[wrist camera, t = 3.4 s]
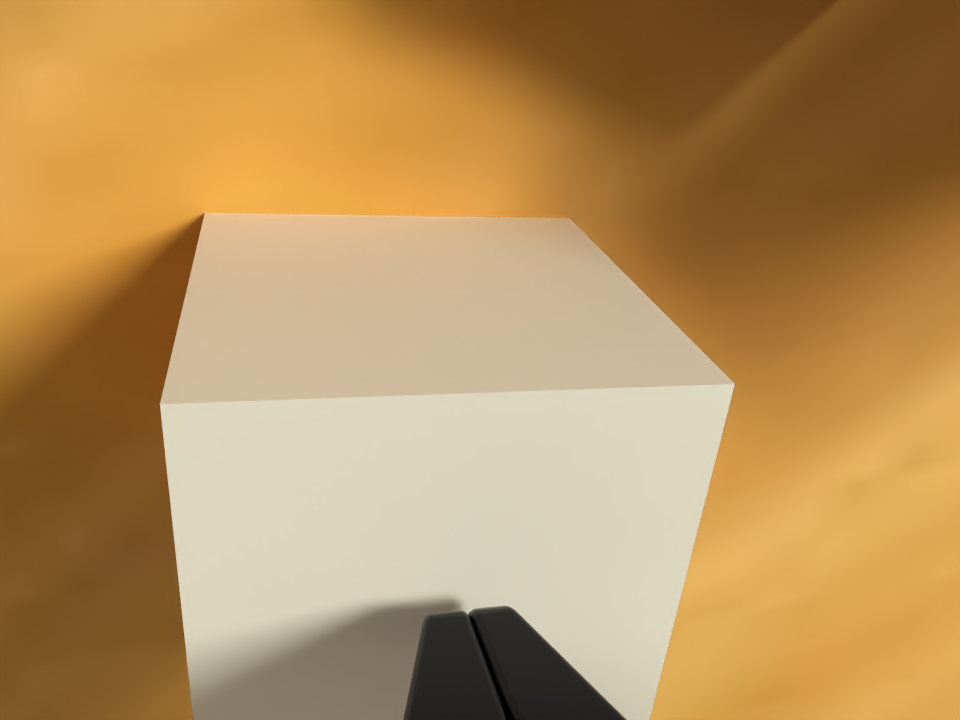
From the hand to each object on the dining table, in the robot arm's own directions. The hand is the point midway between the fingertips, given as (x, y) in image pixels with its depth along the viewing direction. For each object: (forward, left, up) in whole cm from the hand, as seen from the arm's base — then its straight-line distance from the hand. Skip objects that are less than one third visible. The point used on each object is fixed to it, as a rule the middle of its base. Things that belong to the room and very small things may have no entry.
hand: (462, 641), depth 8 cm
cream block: (0, 0, -5) cm, 5 cm away
